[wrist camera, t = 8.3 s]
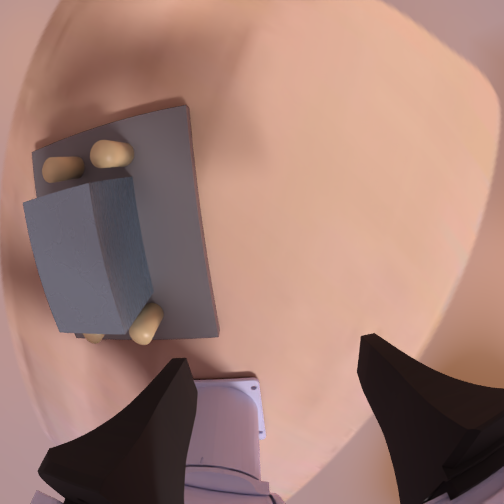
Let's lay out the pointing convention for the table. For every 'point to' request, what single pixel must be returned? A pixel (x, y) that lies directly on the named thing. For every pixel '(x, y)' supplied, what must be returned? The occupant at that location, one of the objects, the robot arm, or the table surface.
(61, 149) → the grey pegged base plate
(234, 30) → the table surface
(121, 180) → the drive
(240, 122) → the table surface
